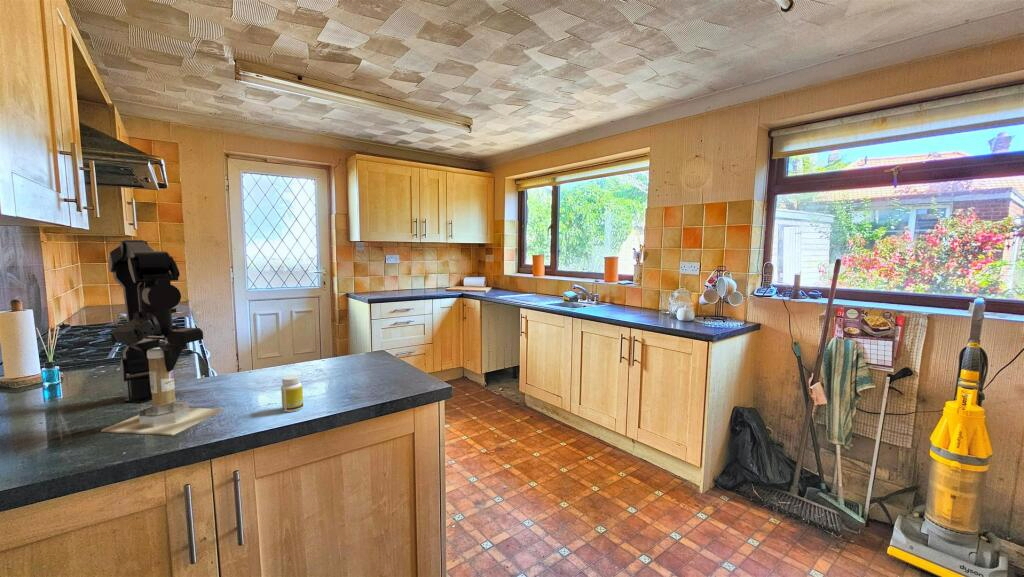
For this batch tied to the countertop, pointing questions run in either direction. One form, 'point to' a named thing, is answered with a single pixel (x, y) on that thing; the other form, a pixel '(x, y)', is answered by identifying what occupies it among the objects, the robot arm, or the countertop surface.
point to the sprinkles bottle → (160, 379)
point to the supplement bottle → (291, 393)
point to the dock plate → (171, 429)
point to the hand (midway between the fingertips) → (161, 370)
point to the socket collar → (164, 414)
